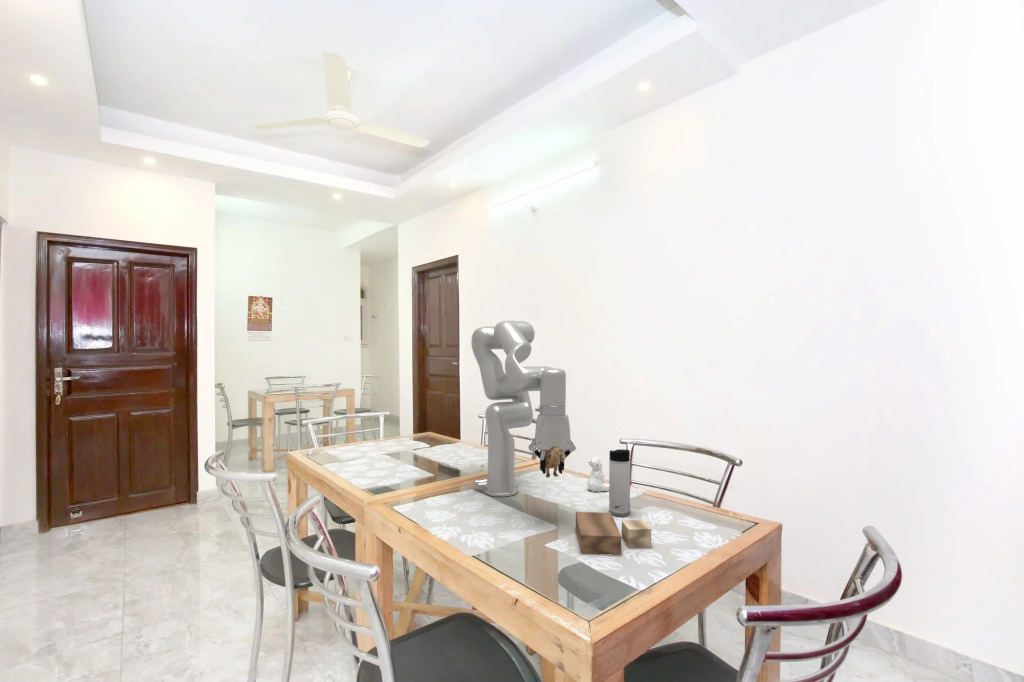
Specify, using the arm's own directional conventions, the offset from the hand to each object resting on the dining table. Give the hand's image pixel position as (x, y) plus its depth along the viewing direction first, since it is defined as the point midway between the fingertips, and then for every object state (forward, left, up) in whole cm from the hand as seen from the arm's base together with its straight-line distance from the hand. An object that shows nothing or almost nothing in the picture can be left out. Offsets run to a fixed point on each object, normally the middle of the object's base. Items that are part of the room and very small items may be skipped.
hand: (551, 471), depth 134 cm
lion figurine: (0, +1, -1) cm, 2 cm away
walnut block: (+10, -13, -15) cm, 23 cm away
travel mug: (+22, +6, -15) cm, 27 cm away
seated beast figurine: (+21, +29, -15) cm, 39 cm away
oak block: (+20, -15, -15) cm, 29 cm away
